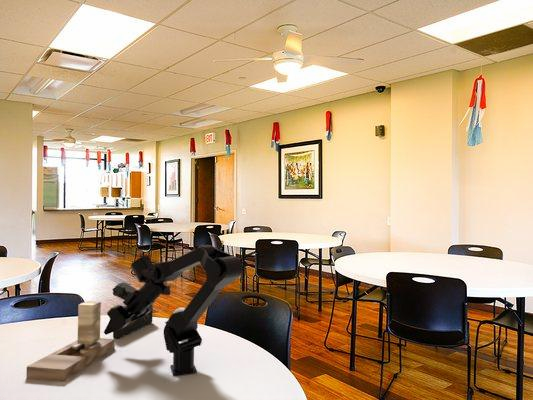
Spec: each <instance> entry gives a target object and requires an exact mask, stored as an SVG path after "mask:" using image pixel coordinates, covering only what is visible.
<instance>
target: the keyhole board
mask: <svg viewBox="0 0 533 400" xmlns="http://www.w3.org/2000/svg"><path fill="white" fill-rule="evenodd" d="M77 341H78V339H77V340H75V341H72V342H70V343H69V344H67V345H65V346H63V347H62V348H59V349H58V350H55V351H54V352H52V353H50V354H48V355H47V356H44V357H43V358H40V359H39V360H36V361H35V362H33V363H31V364H28V365H27V366H26V376H25V378H26V379H28V380H41V381H42V380H43V381H53V382H63V383H64V382H67V381H69V380H70V379H71V378H72V377H74V376H75V375H77V374H78V373H80V372H81V371H83V370H84V369H86V368H88V367H90V366H91V365H92V364H94V363H95V362H97V361H98V360H100V359H101V358H103V357H105V356H107V355H108V354H109V353H111V352H112V351H113V350H115V347H116V346H115V345H116V343H115V342H116V339H115V338H105V337H100V340H99V341H97V342H95V343H93V345H92V346H91V347H89V351H87V352H86V353H84V354H82V355H81V354H80V349H81V348H83V347H85V344H77Z"/></svg>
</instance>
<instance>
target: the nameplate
mask: <svg viewBox="0 0 533 400" xmlns="http://www.w3.org/2000/svg"><path fill="white" fill-rule="evenodd" d="M126 306H127V305H124V306H123V308H124V309H125V310H127V307H126ZM153 309H154V308H153ZM153 309H152V310H151V311H150V312H149V313H148V314H146V315H144V316H143V317H141V318H138V319H136V320H134V321H132V322H130V323H129V324H128V325H126V326H125V327H124V328H122V329H119V330H117V331H114V332H112V333H113V334H112V337H113V338H112V339H115V340H120V339H123V338H124V337H126V336H128V335H131V334H133V333H134V332H136V331H138V330H141V329H143V328H145V327H147V326H149V325H151V324H152V323H153V316H154V315H153V314H154V313H153ZM146 311H147V310H146ZM146 311H145V312H146Z"/></svg>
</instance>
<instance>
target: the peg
mask: <svg viewBox="0 0 533 400" xmlns="http://www.w3.org/2000/svg"><path fill="white" fill-rule="evenodd" d="M101 309H102V303H101V301H93V300H87V301H84V302H80V304H78V308H77V311H78V312H77V313H78V314H77V340H78V341H77V340H76V341H77V344H85V347H83V348H81V349H80V354H81V355H82V354H84V353H86V352H87V351H89V347H91V346H92V345H93V343H95V342H97V341H99V340H100V338H101V316H102V315H101V314H102V313H101V311H102V310H101Z"/></svg>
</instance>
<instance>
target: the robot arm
mask: <svg viewBox="0 0 533 400" xmlns="http://www.w3.org/2000/svg"><path fill="white" fill-rule="evenodd" d="M200 264H201V266H202V269H203V270H204V271H205V273H206V274H205V275H206V280H205V282H203V284H202V285H201V287H199V289H198V290H197V292H196V293H195V295H194V296H193V297H192V299H191V300H190V301H189V303H188V304H187V306H186V307H184V308H185V310H184V311H181V312H177V313H174V312H172V314H171V315H170V316H169V318H168V320H167V321H165V322H164V324H165V326H164V327H163V339H164V342H165V348H166V351H167V352H168V353H169V354H172V355H173V357H172V362H173V363H172V364H170V370H171V374H172V376H180V375H187V374H189V375H190V374H195V373H198V369H197V367H196V365H195V348H196V347H200V346H201V345H202V342H203V338H202V336H201V335H200V333H199V331H198V321H199V320H200V318H201V317H202V316H203V314H204V313H205V312H206V311H207V309H208V308H209V306H210V305H211V304H212V303H213V302H214V300H215V299H216V297H218V295H219V293H220V292H221V291H222V290H223V289H224V288H226V287H227V286H228V285H231V284H232V283H234V282H235V281H236V280H237V279H238V278H240V277H241V276H242V274H243V270H244V269H243V263H242V261H241V259H240V258H238V257H237V256H234V255H232V254H231V253H228V252H225V251H222V250H221V249H218V248H217V247H216V246H213V245H211V244H207V245H199V246H198V247H196V248H194V249H193V250H190V251H189V252H187V253H184V254H182V255H180V256H178V257H176V258H174V259H172V260H169V261H168V260H167V261H161V262H156V263H153V262H152V261H151V258H150V256H149V255H148V254H144V255H142V254H141V257H139V258H137V259H135V260H134V261H133V262H132V263H131V265H130V269H131V271H132V272H133V274H134V275H135V277H136V279H137V281H138V282H139V283H144V284H143V285H142V286H141V287H140V288H139V289H137V288H136V287H134V286H132V285H130V284H129V283H127V282H124V281H123V282H119V283H117V284H116V285H115V287H114V288H112V295H113V296H115V297H117V298H119V299H121V300H123V302H122V303H123V304H124V306H126V305H127V306H126V307H127V310H125V309H124V308H123V307H124V306H123V305H120V304H117V305H115V306H113V307H111V308H110V309H109V310H108V311H107V312H106V314H107V316H108V318H109V321H108V323H107V325H106V327H105V329H104V331H103V333H104V334H105V335H109V334H112V333H113V332H114V331H117V330H119V329H122V328H124V327H125V326H126V325H128V324H129V323H130V322H132V321H134V320H136V319H138V318H141V317H143V316H144V315H146V314H148V313H149V312H150V311H151V310H152V309H154V303H156V300H157V299H158V298H159V297H160V296H170V295H171V286H170V285H167V284H166V282H172V281H175V280H177V279H178V278H179V277H180V276H181V275H182V273H184V271H188V270H189V269H192V268H193V267H196V266H198V265H200ZM146 310H147V311H146ZM145 311H146V312H145ZM185 340H186V341H185Z"/></svg>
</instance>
